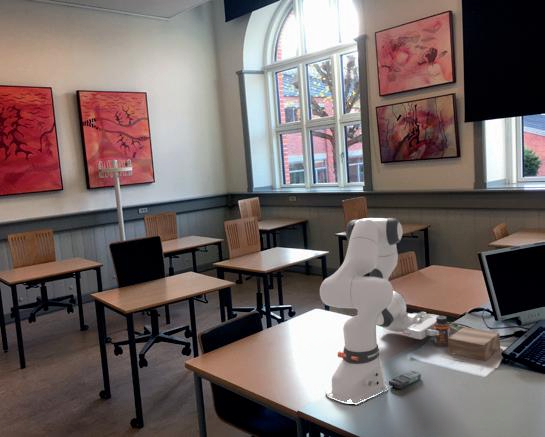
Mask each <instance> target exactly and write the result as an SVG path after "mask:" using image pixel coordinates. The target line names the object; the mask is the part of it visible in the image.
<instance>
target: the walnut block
mask: <svg viewBox="0 0 545 437" xmlns="http://www.w3.org/2000/svg"><path fill="white" fill-rule="evenodd" d="M500 338H501V337H500V332H495V331H490V330H485V329H480V328H479V329H478V328H473V327H467V326H463V327H462V328H460V329H459V330H457V331H456V332H455V333H453V334H452V335H450V337H449V338H448V346H447V347H448V353H449V352H450V353H449V354H452V353H455V354H454V355H456V354H459V355H458V356H461V355H463V356H462V357H466V356H467V357H466V358H471V359H476V360H480V361H484V362H485V361H487V360H488V358H490V357H491V356H493V355H494V354H495V353H496V352H497V351H499V350H500V349H501V341H500ZM496 350H497V351H496ZM495 351H496V352H495ZM494 352H495V353H494ZM493 353H494V354H493Z"/></svg>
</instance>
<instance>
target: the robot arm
mask: <svg viewBox="0 0 545 437" xmlns="http://www.w3.org/2000/svg"><path fill="white" fill-rule="evenodd" d="M403 234H404V233H403V226H402V224H401V221H399V220H398V218H393V217H388V218H385V217H367V218H360V219H352V220H350V221H349V222H348V223H347V224H346V228H345V235H346V236H345V237H346V240H347V242H348V244H347V249H346V254H345V258H344V260H343V262H342V264H341V266H339V268H338V269H337V270H336V271H335V272H334V273H333V274H331V275H330V276H328V277H326V278H325V279H324V280H323V281H322V282H321V285H320V287H319V296H320V300H321V302H322V303H323V304H324V305H325V306H329V307H333V308H337V309H355V310H357V315H355V316H351V317H350V318H349V319H347V320H346V322H344V324H343V329H342V330H343V339H344V346H343V352H342V351H340V350H339V351H338V352H337V358H341V359H342V360H341V362H340V363H339V365H338V367H337V369H336V370H335V372H334V373H333V375H332V377H331V386H330V387H329V388H328V389H327V390H326V391H325V395H326V394H327V395H328V396H330V397H332V398H335V399H337V400H340V401H344V402H347V400H349V399H351V400H352V402H353V403H358V402H360V401H362V400H364V399H367V398H369V397H371V396H373V395H376V394H378V393H380V392H382V391H385V390H387V389H388V390H389V388H388V385H387V384H386V380H385V375H384V370H383V366H382V364H381V361H380V359H379V356H380V348H379V344H378V343H377V327H381V328H383V329H385V330H387V331H391V332H395V333H403V334H404V335H407V336H408V337H409V338H412V339H416V340H423V339H425V338H427V337H428V336H435V335H440V334H441V333H440V330H435V329H434V323H435V322H436V317H437V316H440V315H439V314H434V313H427V312H426V311H419V312H413V313H410V312H407V301H406V298H405V297H404V295H403V294H402V293H400V292H398V291H396V290H395V291H394V287H393V285H392V284H391V282H390V281H389V278H390V276H391V275H392V274H393V272H394V270H395V269H396V267H397V265H398V259H399V254H398V249H397V244H399V243H400V242H401V240H402V237H403ZM368 274H369V276H365V275H368ZM330 394H333V395H330ZM360 399H361V400H360Z"/></svg>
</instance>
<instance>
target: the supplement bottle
mask: <svg viewBox="0 0 545 437" xmlns="http://www.w3.org/2000/svg"><path fill="white" fill-rule="evenodd" d="M447 320H448V319H447V316H445V315H439V316H437V317H436V322H435V323H434V329H435V330H440V333H441V334H440V335H434V341H435V344H436V345H437V346H440V347H448V346H447V345H448V338H449V337H450V336H451V327H450V323H449V322H448V321H447Z"/></svg>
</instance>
